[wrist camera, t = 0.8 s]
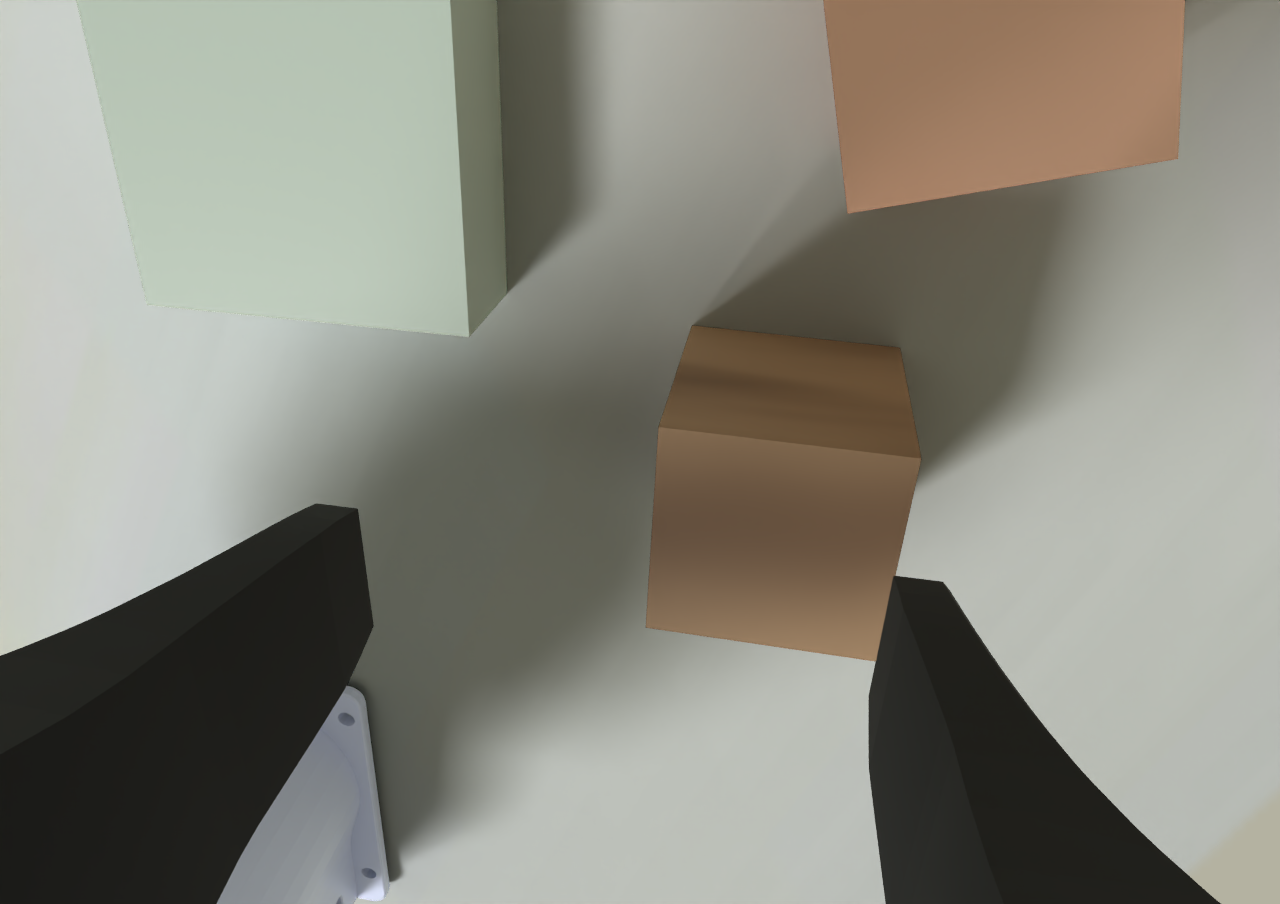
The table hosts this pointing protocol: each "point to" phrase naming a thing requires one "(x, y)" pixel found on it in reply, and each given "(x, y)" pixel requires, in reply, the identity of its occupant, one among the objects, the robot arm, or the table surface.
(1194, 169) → the table surface
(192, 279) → the base block
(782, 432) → the walnut block
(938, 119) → the terracotta block
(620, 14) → the table surface
